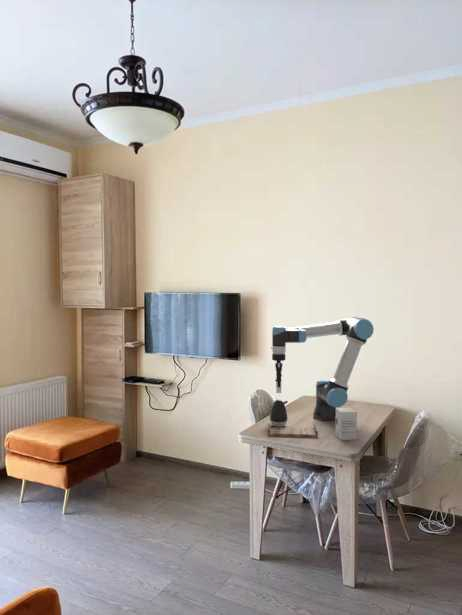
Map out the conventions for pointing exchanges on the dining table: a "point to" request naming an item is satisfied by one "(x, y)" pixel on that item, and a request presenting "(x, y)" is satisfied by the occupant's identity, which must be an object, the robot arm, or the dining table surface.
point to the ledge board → (292, 432)
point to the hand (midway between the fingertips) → (278, 390)
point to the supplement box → (346, 423)
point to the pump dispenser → (278, 414)
